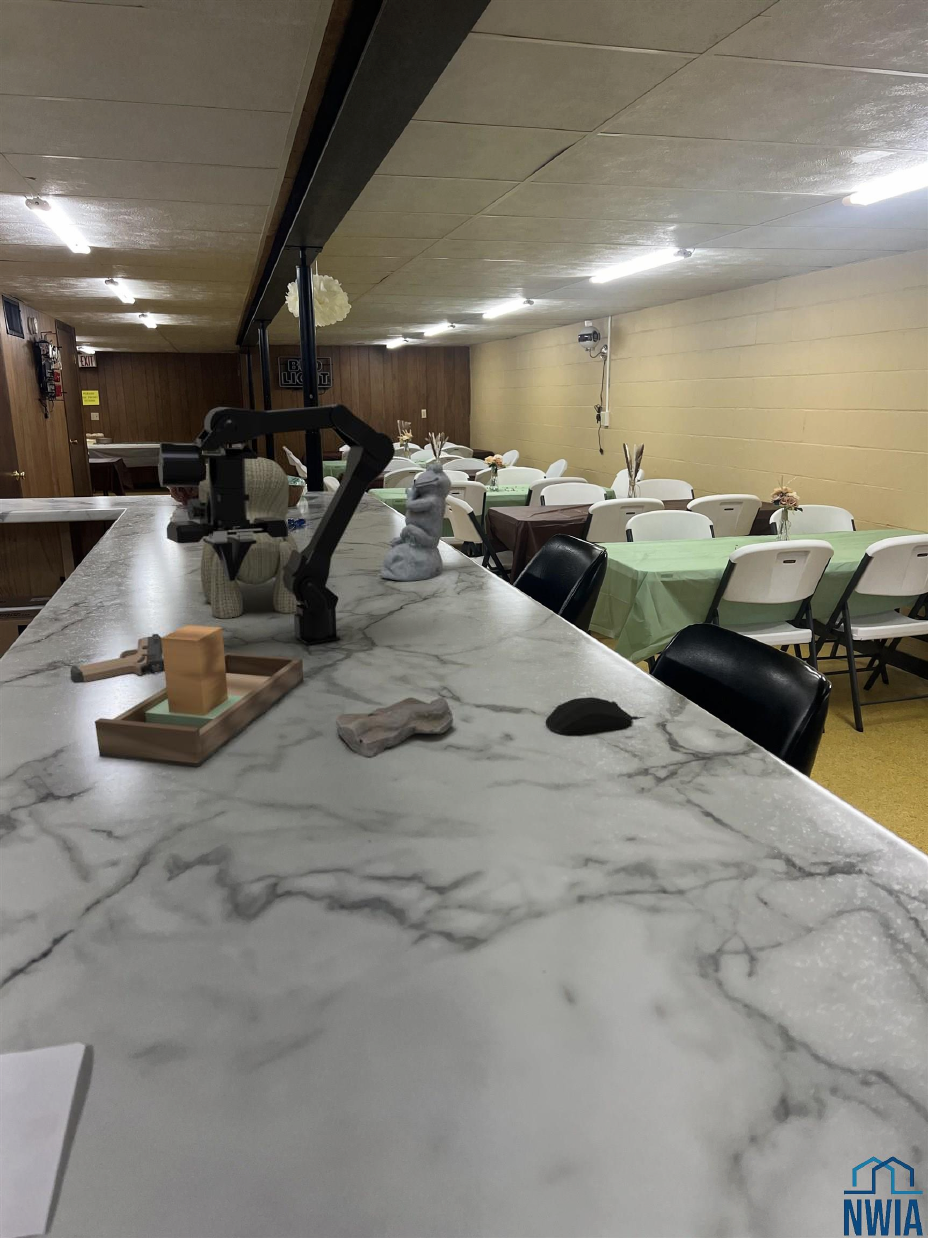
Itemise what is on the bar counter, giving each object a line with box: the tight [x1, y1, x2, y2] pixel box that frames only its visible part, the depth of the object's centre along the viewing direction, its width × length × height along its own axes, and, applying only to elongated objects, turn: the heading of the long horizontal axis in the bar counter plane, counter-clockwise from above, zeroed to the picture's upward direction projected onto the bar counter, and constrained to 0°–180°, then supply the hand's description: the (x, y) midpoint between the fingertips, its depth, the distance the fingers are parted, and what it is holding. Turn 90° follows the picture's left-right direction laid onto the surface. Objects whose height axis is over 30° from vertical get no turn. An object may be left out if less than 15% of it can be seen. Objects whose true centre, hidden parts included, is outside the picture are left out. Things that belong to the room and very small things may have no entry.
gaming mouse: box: [545, 696, 647, 737], centre depth 102 cm, size 6×15×4 cm, turn 107°
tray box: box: [94, 652, 304, 768], centre depth 105 cm, size 30×13×4 cm, turn 168°
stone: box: [335, 696, 454, 758], centre depth 99 cm, size 15×10×4 cm, turn 123°
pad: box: [145, 695, 244, 730], centre depth 102 cm, size 8×11×2 cm
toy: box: [198, 456, 301, 619], centre depth 161 cm, size 21×30×30 cm
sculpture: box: [379, 461, 452, 582], centre depth 187 cm, size 18×16×30 cm
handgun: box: [70, 633, 165, 684], centre depth 127 cm, size 19×3×14 cm
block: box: [161, 624, 228, 716], centre depth 100 cm, size 6×5×10 cm
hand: (231, 580), depth 129 cm, fingers closed
